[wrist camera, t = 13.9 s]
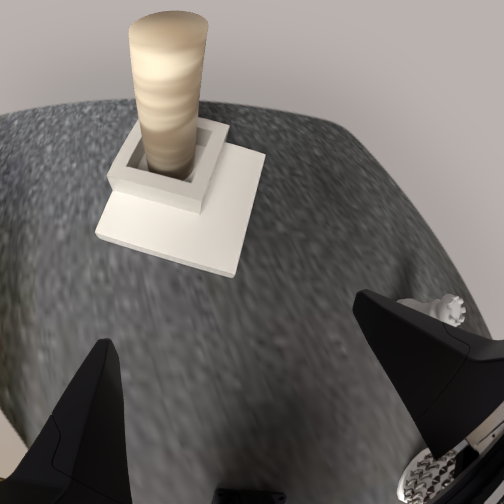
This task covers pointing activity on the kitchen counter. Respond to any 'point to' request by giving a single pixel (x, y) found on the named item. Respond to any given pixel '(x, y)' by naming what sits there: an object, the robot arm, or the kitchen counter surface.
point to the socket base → (184, 202)
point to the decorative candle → (426, 477)
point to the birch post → (168, 87)
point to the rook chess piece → (440, 308)
